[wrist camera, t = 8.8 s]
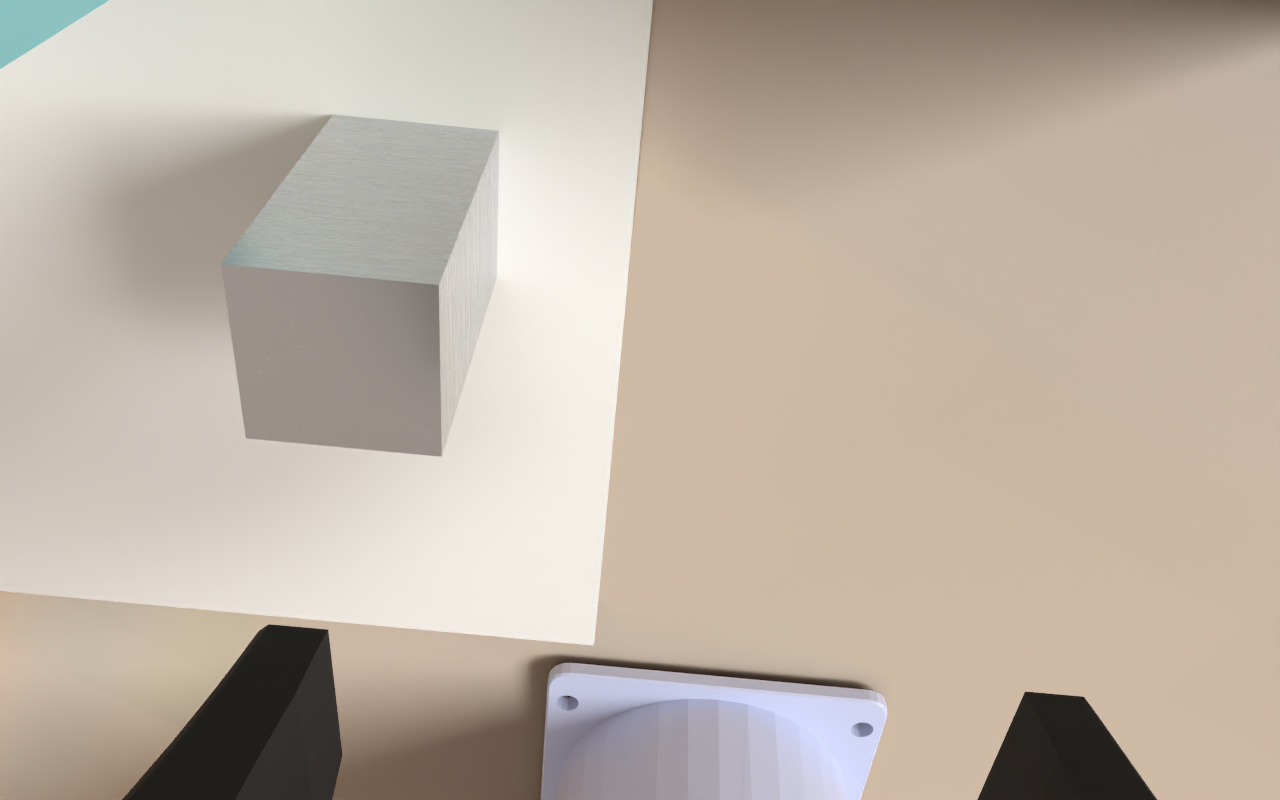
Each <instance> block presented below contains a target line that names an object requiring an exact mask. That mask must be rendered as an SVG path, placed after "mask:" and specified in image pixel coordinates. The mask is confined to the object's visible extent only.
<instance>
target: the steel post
mask: <svg viewBox="0 0 1280 800" xmlns="http://www.w3.org/2000/svg"><path fill="white" fill-rule="evenodd" d="M498 180H499V131H496V130H486V129H475V128H465V127H455V126H445V125H435V124H425V123H415V122H404V121H394V120H384V119H374V118H364V117H354V116H344V115H332V117H331V118H330V119H329V121H328V122H327V123H326V125H325V126H324V127H323V129H322V130H321V131H320V133H319V134H318V135H317V137H316V138H315V139H314V141H313V142H312V143H311V145H310V146H309V147H308V149H307V150H306V151H305V153H304V154H303V155H302V157H301V158H300V159H299V161H298V162H297V163H296V165H295V166H294V167H293V169H292V170H291V171H290V173H289V174H288V175H287V177H286V178H285V179H284V181H283V182H282V183H281V185H280V186H279V187H278V189H277V190H276V191H275V193H274V194H273V195H272V197H271V198H270V199H269V201H268V202H267V203H266V205H265V206H264V207H263V209H262V210H261V211H260V213H259V214H258V215H257V217H256V218H255V219H254V221H253V222H252V223H251V225H250V226H249V227H248V229H247V230H246V231H245V233H244V234H243V235H242V237H241V238H240V239H239V241H238V242H237V243H236V245H235V246H234V247H233V249H232V250H231V251H230V253H229V254H228V255H227V257H226V258H225V259H224V261H223V262H222V263H221V267H222V274H223V281H224V288H225V295H226V302H227V309H228V316H229V323H230V330H231V337H232V345H233V352H234V359H235V366H236V373H237V380H238V387H239V394H240V401H241V408H242V415H243V422H244V429H245V436H246V438H248V439H258V440H269V441H280V442H290V443H301V444H311V445H322V446H333V447H343V448H354V449H365V450H375V451H386V452H397V453H407V454H418V455H429V456H439V457H442V455H443V451H444V448H445V445H446V442H447V438H448V435H449V432H450V429H451V425H452V422H453V419H454V416H455V412H456V409H457V406H458V403H459V399H460V396H461V393H462V390H463V386H464V383H465V380H466V377H467V373H468V370H469V367H470V364H471V360H472V357H473V354H474V350H475V347H476V344H477V341H478V337H479V334H480V331H481V328H482V324H483V321H484V318H485V315H486V311H487V308H488V305H489V302H490V298H491V295H492V292H493V289H494V285H495V282H496V279H497V243H498Z"/></svg>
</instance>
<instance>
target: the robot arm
mask: <svg viewBox="0 0 1280 800" xmlns="http://www.w3.org/2000/svg"><path fill="white" fill-rule="evenodd" d="M565 696H572V697H569V698H568V697H565ZM886 718H887V706H886V701H885V699H884V697H883V696H882V695H881V694H879V693H878V692H875V691H871V690H865V689H854V688H843V687H832V686H821V685H810V684H799V683H788V682H777V681H766V680H755V679H744V678H733V677H722V676H711V675H701V674H690V673H679V672H668V671H657V670H646V669H635V668H624V667H613V666H602V665H591V664H580V663H562V664H559V665H556V666H555V667H554V668H553V669H551V671H550V673H549V678H548V685H547V701H546V718H545V735H544V752H543V769H542V786H541V800H860V799H861V796H862V793H863V790H864V786H865V783H866V780H867V777H868V774H869V771H870V768H871V765H872V762H873V759H874V755H875V752H876V749H877V746H878V743H879V740H880V737H881V734H882V731H883V728H884V724H885V721H886ZM863 722H865V723H863ZM857 723H861V724H857ZM341 758H342V748H341V740H340V731H339V722H338V713H337V704H336V696H335V687H334V678H333V669H332V661H331V652H330V643H329V634H328V630H325V629H314V628H302V627H291V626H280V625H267V626H266V627H264V628H263V629H261V630H260V631H259V632H258V633H257V634H256V636H255V637H254V638H253V640H252V641H251V642H250V644H249V645H248V646H247V648H246V649H245V651H244V652H243V653H242V655H241V656H240V657H239V659H238V660H237V661H236V662H235V664H234V665H233V666H232V668H231V669H230V670H229V672H228V673H227V674H226V676H225V677H224V678H223V679H222V681H221V682H220V683H219V685H218V686H217V687H216V688H215V690H214V691H213V692H212V693H211V695H210V696H209V697H208V699H207V700H206V701H205V702H204V704H203V705H202V706H201V707H200V709H199V710H198V711H197V712H196V713H195V715H194V716H193V717H192V718H191V720H190V721H189V722H188V723H187V725H186V726H185V727H184V728H183V729H182V731H181V732H180V733H179V734H178V736H177V737H176V738H175V739H174V740H173V742H172V743H171V744H170V745H169V746H168V747H167V749H166V750H165V751H164V752H163V753H162V754H161V756H160V757H159V758H158V759H157V760H156V761H155V762H154V764H153V765H152V766H151V767H150V768H149V769H148V771H147V772H146V773H145V774H144V775H143V776H142V778H141V779H140V780H139V781H138V782H137V783H136V785H135V786H134V787H133V788H132V789H131V790H130V791H129V793H128V794H127V795H126V796H125V797H124V798H123V800H332V797H333V793H334V788H335V784H336V780H337V775H338V771H339V766H340V762H341ZM978 800H1157V799H1156V797H1155V796H1154V795H1153V793H1152V792H1151V790H1150V789H1149V788H1148V786H1147V785H1146V783H1145V782H1144V781H1143V779H1142V778H1141V776H1140V775H1139V774H1138V772H1137V771H1136V769H1135V768H1134V766H1133V765H1132V764H1131V762H1130V761H1129V759H1128V758H1127V757H1126V755H1125V754H1124V752H1123V751H1122V749H1121V748H1120V747H1119V745H1118V744H1117V742H1116V741H1115V740H1114V738H1113V737H1112V735H1111V734H1110V732H1109V731H1108V730H1107V728H1106V727H1105V725H1104V724H1103V723H1102V721H1101V720H1100V718H1099V717H1098V716H1097V714H1096V713H1095V711H1094V710H1093V709H1092V707H1091V706H1090V704H1089V703H1088V702H1087V701H1086V699H1085V698H1084V697H1079V696H1068V695H1056V694H1045V693H1034V692H1025V693H1024V696H1023V698H1022V700H1021V702H1020V705H1019V707H1018V709H1017V712H1016V714H1015V716H1014V718H1013V721H1012V723H1011V725H1010V727H1009V730H1008V732H1007V734H1006V736H1005V739H1004V741H1003V743H1002V745H1001V748H1000V750H999V752H998V755H997V757H996V759H995V761H994V764H993V766H992V768H991V770H990V773H989V775H988V777H987V779H986V782H985V784H984V786H983V789H982V791H981V793H980V795H979V798H978Z"/></svg>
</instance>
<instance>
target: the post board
mask: <svg viewBox="0 0 1280 800" xmlns="http://www.w3.org/2000/svg"><path fill="white" fill-rule="evenodd" d="M652 8H653V0H109V1H107V2H106V3H104V4H103V5H101V6H100V7H98V8H96V9H95V10H93V11H92V12H90V13H88V14H87V15H85V16H84V17H82V18H81V19H79V20H77V21H76V22H74V23H73V24H71V25H69V26H68V27H66V28H65V29H63V30H62V31H60V32H58V33H57V34H55V35H54V36H52V37H50V38H49V39H47V40H46V41H44V42H42V43H41V44H39V45H38V46H36V47H35V48H33V49H31V50H30V51H28V52H27V53H25V54H23V55H22V56H20V57H19V58H17V59H16V60H14V61H12V62H11V63H9V64H8V65H6V66H4V67H3V68H1V69H0V591H6V592H17V593H27V594H38V595H49V596H60V597H71V598H82V599H93V600H104V601H115V602H126V603H137V604H148V605H159V606H170V607H180V608H191V609H202V610H213V611H224V612H235V613H246V614H257V615H268V616H279V617H290V618H301V619H312V620H322V621H333V622H344V623H355V624H366V625H377V626H388V627H399V628H410V629H421V630H432V631H443V632H454V633H464V634H475V635H486V636H497V637H508V638H519V639H530V640H541V641H552V642H563V643H574V644H585V645H594V638H595V628H596V618H597V608H598V598H599V587H600V577H601V566H602V555H603V544H604V533H605V522H606V511H607V500H608V489H609V478H610V467H611V456H612V445H613V434H614V423H615V412H616V401H617V391H618V380H619V369H620V358H621V347H622V336H623V325H624V314H625V303H626V292H627V281H628V270H629V259H630V248H631V237H632V226H633V216H634V205H635V194H636V183H637V172H638V161H639V150H640V139H641V128H642V117H643V106H644V95H645V84H646V73H647V62H648V51H649V40H650V30H651V19H652ZM332 115H344V116H354V117H364V118H374V119H384V120H394V121H404V122H415V123H425V124H435V125H445V126H455V127H465V128H475V129H486V130H496V131H499V180H498V243H497V279H496V282H495V285H494V289H493V292H492V295H491V298H490V302H489V305H488V308H487V311H486V315H485V318H484V321H483V324H482V328H481V331H480V334H479V337H478V341H477V344H476V347H475V350H474V354H473V357H472V360H471V364H470V367H469V370H468V373H467V377H466V380H465V383H464V386H463V390H462V393H461V396H460V399H459V403H458V406H457V409H456V412H455V416H454V419H453V422H452V425H451V429H450V432H449V435H448V438H447V442H446V445H445V448H444V451H443V455H442V457H439V456H429V455H418V454H407V453H397V452H386V451H375V450H365V449H354V448H343V447H333V446H322V445H311V444H301V443H290V442H280V441H269V440H258V439H248V438H246V436H245V429H244V422H243V415H242V408H241V401H240V394H239V387H238V380H237V373H236V366H235V359H234V352H233V345H232V337H231V330H230V323H229V316H228V309H227V302H226V295H225V288H224V281H223V274H222V267H221V263H222V262H223V261H224V259H225V258H226V257H227V255H228V254H229V253H230V251H231V250H232V249H233V247H234V246H235V245H236V243H237V242H238V241H239V239H240V238H241V237H242V235H243V234H244V233H245V231H246V230H247V229H248V227H249V226H250V225H251V223H252V222H253V221H254V219H255V218H256V217H257V215H258V214H259V213H260V211H261V210H262V209H263V207H264V206H265V205H266V203H267V202H268V201H269V199H270V198H271V197H272V195H273V194H274V193H275V191H276V190H277V189H278V187H279V186H280V185H281V183H282V182H283V181H284V179H285V178H286V177H287V175H288V174H289V173H290V171H291V170H292V169H293V167H294V166H295V165H296V163H297V162H298V161H299V159H300V158H301V157H302V155H303V154H304V153H305V151H306V150H307V149H308V147H309V146H310V145H311V143H312V142H313V141H314V139H315V138H316V137H317V135H318V134H319V133H320V131H321V130H322V129H323V127H324V126H325V125H326V123H327V122H328V121H329V119H330V118H331V117H332Z"/></svg>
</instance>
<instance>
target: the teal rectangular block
mask: <svg viewBox="0 0 1280 800" xmlns="http://www.w3.org/2000/svg"><path fill="white" fill-rule="evenodd" d="M107 1H109V0H0V69H1V68H3V67H4V66H6V65H8V64H9V63H11V62H12V61H14V60H16V59H17V58H19V57H20V56H22V55H23V54H25V53H27V52H28V51H30V50H31V49H33V48H35V47H36V46H38V45H39V44H41V43H42V42H44V41H46V40H47V39H49V38H50V37H52V36H54V35H55V34H57V33H58V32H60V31H62V30H63V29H65V28H66V27H68V26H69V25H71V24H73V23H74V22H76V21H77V20H79V19H81V18H82V17H84V16H85V15H87V14H88V13H90V12H92V11H93V10H95V9H96V8H98V7H100V6H101V5H103V4H104V3H106V2H107Z"/></svg>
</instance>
